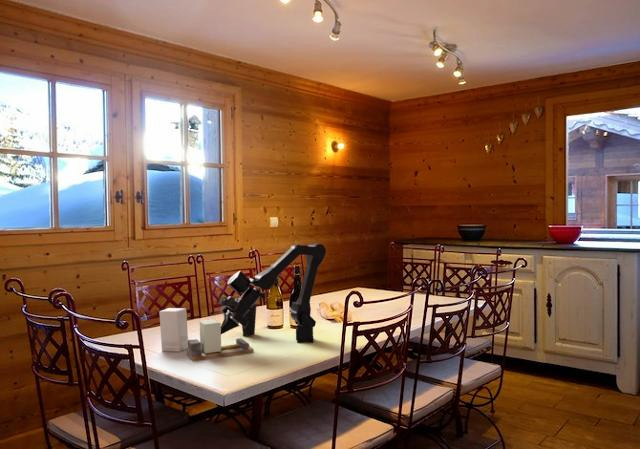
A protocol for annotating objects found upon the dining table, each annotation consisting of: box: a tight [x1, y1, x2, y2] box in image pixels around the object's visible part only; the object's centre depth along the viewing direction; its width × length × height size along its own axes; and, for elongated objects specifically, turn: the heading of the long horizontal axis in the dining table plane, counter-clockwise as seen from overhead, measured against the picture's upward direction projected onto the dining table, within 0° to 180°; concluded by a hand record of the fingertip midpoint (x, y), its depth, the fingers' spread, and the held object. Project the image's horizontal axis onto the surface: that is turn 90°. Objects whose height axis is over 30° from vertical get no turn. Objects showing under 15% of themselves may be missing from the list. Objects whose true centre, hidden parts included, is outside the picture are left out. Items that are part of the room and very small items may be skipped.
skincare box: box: [158, 307, 189, 353], centre depth 199 cm, size 8×7×16 cm
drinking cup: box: [241, 301, 258, 337], centre depth 219 cm, size 8×8×20 cm
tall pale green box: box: [199, 318, 222, 353], centre depth 191 cm, size 6×7×10 cm
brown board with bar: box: [186, 337, 254, 362], centre depth 193 cm, size 22×10×6 cm, turn 116°
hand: (218, 333), depth 192 cm, fingers closed, pressing on tall pale green box
